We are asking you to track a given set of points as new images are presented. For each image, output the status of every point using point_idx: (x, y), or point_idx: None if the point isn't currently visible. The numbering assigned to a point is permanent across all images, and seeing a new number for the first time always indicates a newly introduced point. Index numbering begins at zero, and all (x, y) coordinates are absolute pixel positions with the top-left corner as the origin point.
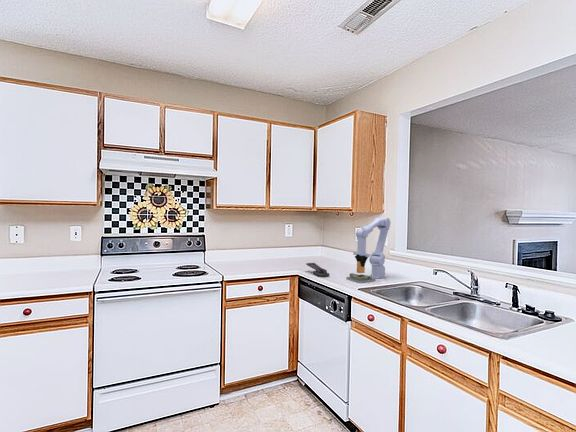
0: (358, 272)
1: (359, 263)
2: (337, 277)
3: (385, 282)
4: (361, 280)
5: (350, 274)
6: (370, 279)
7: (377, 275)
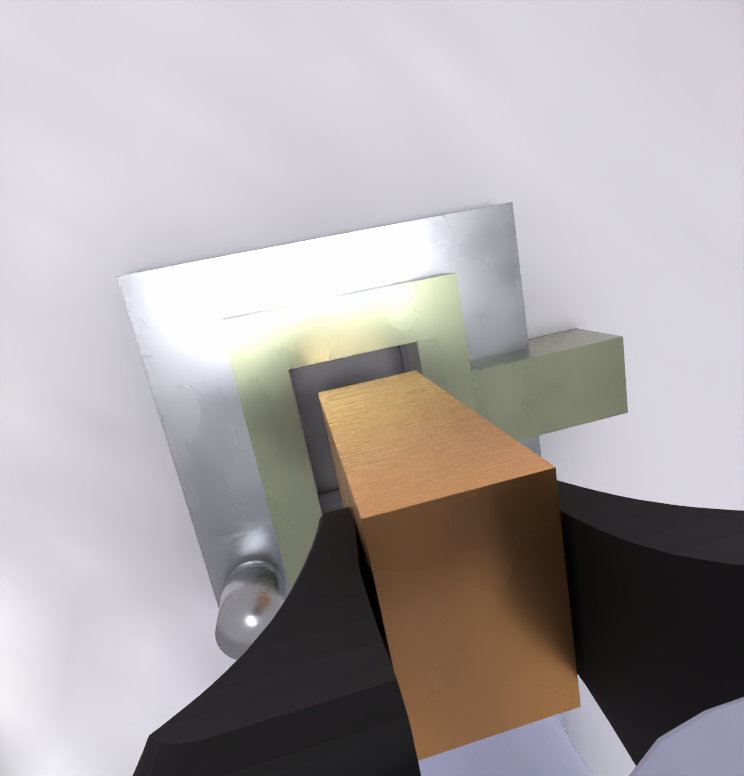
0: (359, 386)
1: (374, 476)
2: (660, 125)
3: (125, 716)
4: (161, 329)
5: (592, 340)
6: (215, 536)
7: (433, 759)
